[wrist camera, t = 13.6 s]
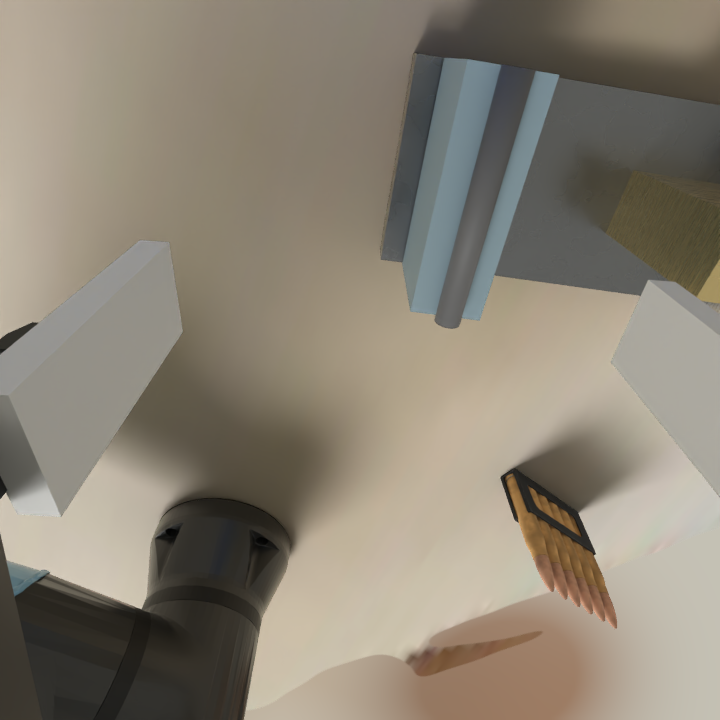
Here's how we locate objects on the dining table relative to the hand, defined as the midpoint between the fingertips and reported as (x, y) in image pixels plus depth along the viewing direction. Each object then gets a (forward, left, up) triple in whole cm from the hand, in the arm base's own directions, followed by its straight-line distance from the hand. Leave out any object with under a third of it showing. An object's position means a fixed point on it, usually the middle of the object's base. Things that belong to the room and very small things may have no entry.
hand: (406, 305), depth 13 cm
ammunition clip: (+22, -30, -21) cm, 42 cm away
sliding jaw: (+4, 0, -18) cm, 19 cm away
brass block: (+19, 0, -19) cm, 27 cm away
